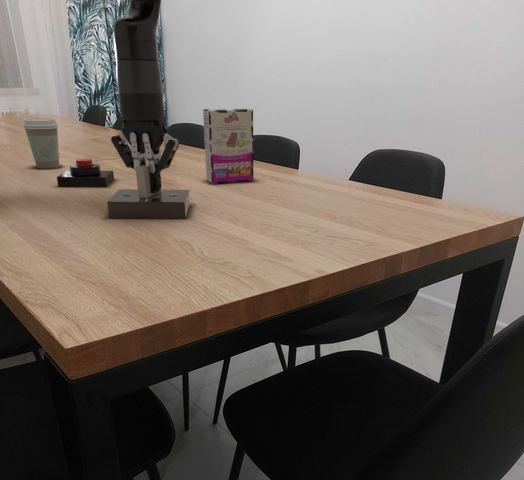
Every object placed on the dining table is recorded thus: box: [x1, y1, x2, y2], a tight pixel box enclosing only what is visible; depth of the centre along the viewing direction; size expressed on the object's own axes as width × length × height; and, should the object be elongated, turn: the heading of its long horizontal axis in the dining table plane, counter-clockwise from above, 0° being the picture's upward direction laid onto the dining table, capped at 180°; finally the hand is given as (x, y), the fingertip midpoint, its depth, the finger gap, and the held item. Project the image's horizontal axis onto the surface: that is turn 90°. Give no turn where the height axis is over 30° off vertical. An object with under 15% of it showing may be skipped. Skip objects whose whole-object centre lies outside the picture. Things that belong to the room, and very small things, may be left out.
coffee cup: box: [23, 117, 60, 170], centre depth 135 cm, size 9×8×12 cm
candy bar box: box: [202, 107, 254, 185], centre depth 121 cm, size 11×5×16 cm, turn 114°
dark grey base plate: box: [106, 188, 191, 219], centre depth 97 cm, size 14×11×3 cm
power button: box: [75, 157, 94, 167], centre depth 118 cm, size 4×4×2 cm
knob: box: [135, 163, 162, 198], centre depth 95 cm, size 6×2×6 cm, turn 162°
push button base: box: [56, 163, 115, 188], centre depth 119 cm, size 11×9×4 cm
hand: (149, 191), depth 96 cm, fingers closed on knob
